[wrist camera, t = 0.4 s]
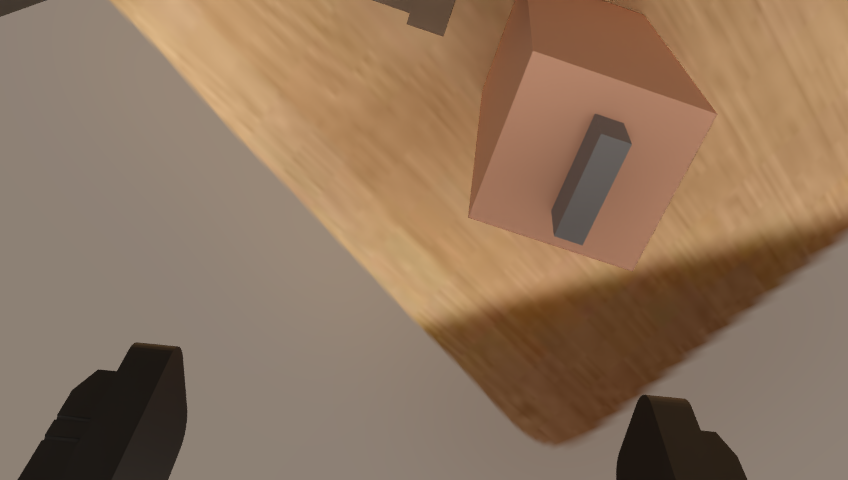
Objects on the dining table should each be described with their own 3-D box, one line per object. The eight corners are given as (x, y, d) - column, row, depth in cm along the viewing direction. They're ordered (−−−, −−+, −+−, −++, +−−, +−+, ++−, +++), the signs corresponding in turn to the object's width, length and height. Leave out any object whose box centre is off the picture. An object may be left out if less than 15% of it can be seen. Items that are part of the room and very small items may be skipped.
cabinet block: (524, -27, 29) (534, 66, 17) (643, 14, 29) (732, 134, 18) (482, 90, 32) (465, 242, 20) (592, 127, 32) (640, 299, 20)
